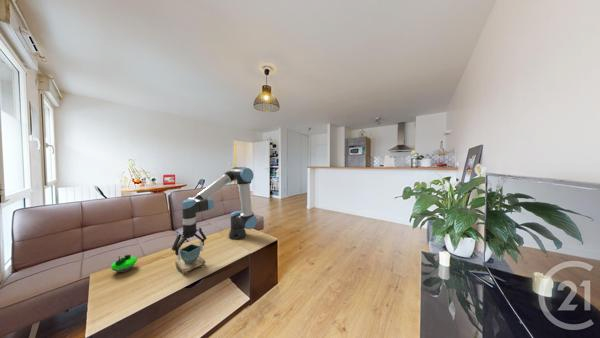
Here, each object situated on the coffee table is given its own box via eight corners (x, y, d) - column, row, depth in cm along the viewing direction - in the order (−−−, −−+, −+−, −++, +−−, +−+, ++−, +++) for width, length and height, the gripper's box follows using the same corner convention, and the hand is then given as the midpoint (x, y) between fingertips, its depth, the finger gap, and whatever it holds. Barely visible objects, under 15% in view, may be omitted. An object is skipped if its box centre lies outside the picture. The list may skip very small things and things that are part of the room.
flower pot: (179, 263, 116) (179, 249, 116) (191, 256, 124) (191, 243, 124) (189, 266, 113) (188, 252, 113) (201, 259, 121) (201, 246, 121)
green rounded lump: (128, 275, 110) (127, 258, 109) (105, 276, 108) (105, 259, 108) (141, 263, 122) (141, 248, 121) (122, 264, 120) (121, 249, 119)
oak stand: (196, 259, 128) (196, 253, 128) (205, 266, 120) (205, 260, 120) (175, 268, 118) (175, 262, 117) (183, 276, 110) (183, 269, 110)
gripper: (206, 217, 129) (206, 245, 131) (164, 227, 109) (165, 261, 111) (211, 219, 125) (212, 249, 126) (169, 231, 105) (170, 265, 106)
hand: (190, 254), depth 119 cm, fingers open, 13 cm apart
